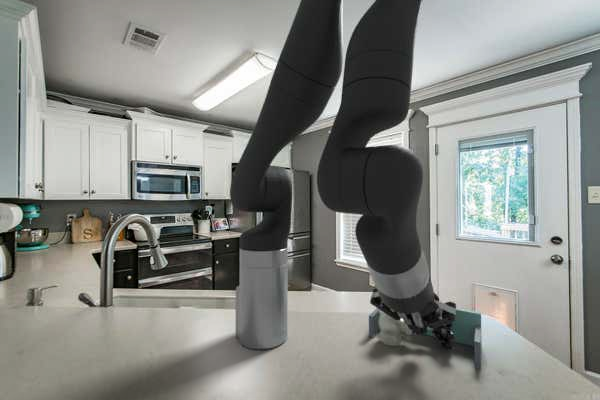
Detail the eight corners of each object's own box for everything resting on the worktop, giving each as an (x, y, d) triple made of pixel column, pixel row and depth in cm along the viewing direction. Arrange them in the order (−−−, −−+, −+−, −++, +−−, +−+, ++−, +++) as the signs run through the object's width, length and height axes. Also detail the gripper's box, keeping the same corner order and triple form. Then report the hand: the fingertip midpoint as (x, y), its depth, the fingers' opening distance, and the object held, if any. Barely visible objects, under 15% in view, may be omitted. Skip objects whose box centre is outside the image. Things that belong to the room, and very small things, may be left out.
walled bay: (368, 336, 52) (368, 305, 52) (382, 321, 59) (381, 294, 59) (480, 368, 42) (480, 329, 42) (481, 346, 48) (481, 312, 48)
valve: (379, 349, 47) (454, 357, 45) (379, 311, 48) (453, 317, 45) (377, 332, 54) (443, 338, 51) (377, 299, 54) (442, 303, 51)
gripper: (456, 255, 35) (464, 317, 45) (361, 246, 43) (385, 301, 53) (452, 307, 31) (462, 365, 41) (346, 287, 39) (376, 340, 48)
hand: (419, 329), depth 47 cm, fingers closed
